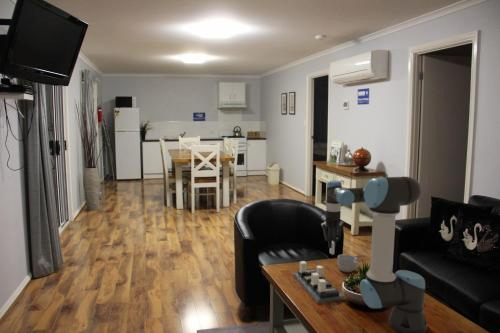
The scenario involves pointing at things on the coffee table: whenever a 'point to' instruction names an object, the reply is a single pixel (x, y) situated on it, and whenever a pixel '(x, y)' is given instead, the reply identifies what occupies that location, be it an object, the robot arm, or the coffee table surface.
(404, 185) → the robot arm
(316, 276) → the breaker handle
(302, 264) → the breaker handle
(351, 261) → the teacup
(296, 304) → the coffee table surface
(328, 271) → the coffee table surface
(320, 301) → the panel
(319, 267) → the breaker handle
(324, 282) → the breaker handle
